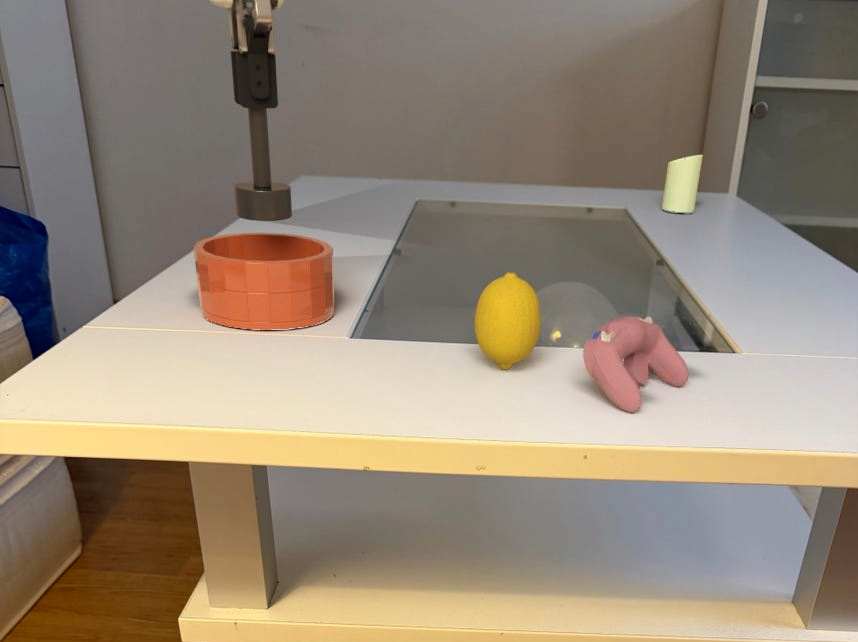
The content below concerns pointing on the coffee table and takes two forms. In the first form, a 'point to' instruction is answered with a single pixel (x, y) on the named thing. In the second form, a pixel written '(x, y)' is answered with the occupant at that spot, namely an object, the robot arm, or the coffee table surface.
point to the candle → (682, 184)
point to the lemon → (507, 320)
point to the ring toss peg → (261, 178)
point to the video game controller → (631, 359)
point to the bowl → (265, 280)
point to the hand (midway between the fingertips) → (256, 104)
